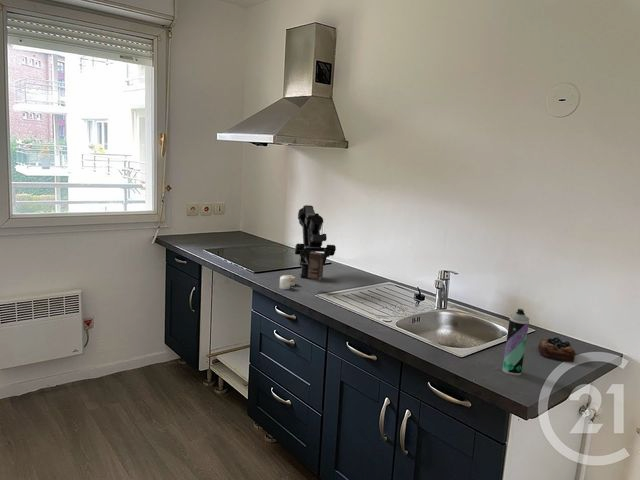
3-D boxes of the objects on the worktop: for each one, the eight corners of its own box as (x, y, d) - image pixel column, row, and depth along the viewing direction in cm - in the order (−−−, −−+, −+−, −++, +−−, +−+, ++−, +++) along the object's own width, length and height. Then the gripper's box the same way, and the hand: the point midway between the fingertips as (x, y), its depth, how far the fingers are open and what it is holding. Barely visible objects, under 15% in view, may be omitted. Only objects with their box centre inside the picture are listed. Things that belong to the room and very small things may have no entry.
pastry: (541, 358, 161) (543, 342, 160) (535, 346, 173) (538, 330, 172) (577, 364, 159) (580, 347, 158) (569, 351, 170) (571, 335, 169)
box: (322, 278, 225) (324, 253, 223) (318, 280, 221) (320, 254, 218) (311, 276, 227) (312, 251, 225) (306, 278, 223) (308, 252, 221)
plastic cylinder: (279, 286, 227) (279, 276, 226) (289, 286, 228) (290, 276, 227) (279, 289, 222) (280, 278, 221) (290, 289, 223) (291, 279, 222)
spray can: (500, 367, 151) (508, 305, 148) (518, 368, 151) (527, 307, 148) (505, 374, 146) (514, 311, 143) (523, 376, 146) (533, 313, 142)
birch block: (281, 283, 233) (282, 275, 232) (291, 283, 235) (291, 275, 234) (284, 286, 228) (285, 277, 228) (294, 285, 230) (295, 277, 230)
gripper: (297, 226, 222) (298, 254, 213) (336, 228, 225) (339, 256, 216) (293, 239, 231) (295, 267, 222) (332, 241, 234) (334, 269, 225)
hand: (316, 265), depth 221 cm, fingers closed on box, 7 cm apart
